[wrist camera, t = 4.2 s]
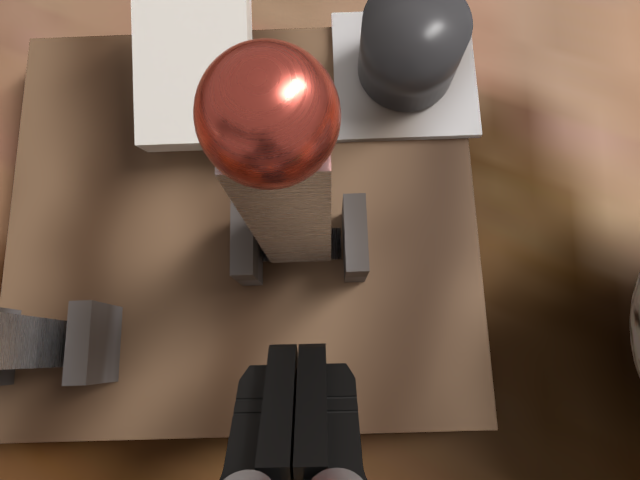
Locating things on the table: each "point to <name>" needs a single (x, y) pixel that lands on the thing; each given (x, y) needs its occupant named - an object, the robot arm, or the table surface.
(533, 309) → the table surface
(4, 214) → the table surface
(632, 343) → the teacup
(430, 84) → the button
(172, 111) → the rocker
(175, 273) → the panel
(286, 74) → the red toggle
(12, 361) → the grey metal bar
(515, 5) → the table surface
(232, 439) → the robot arm
